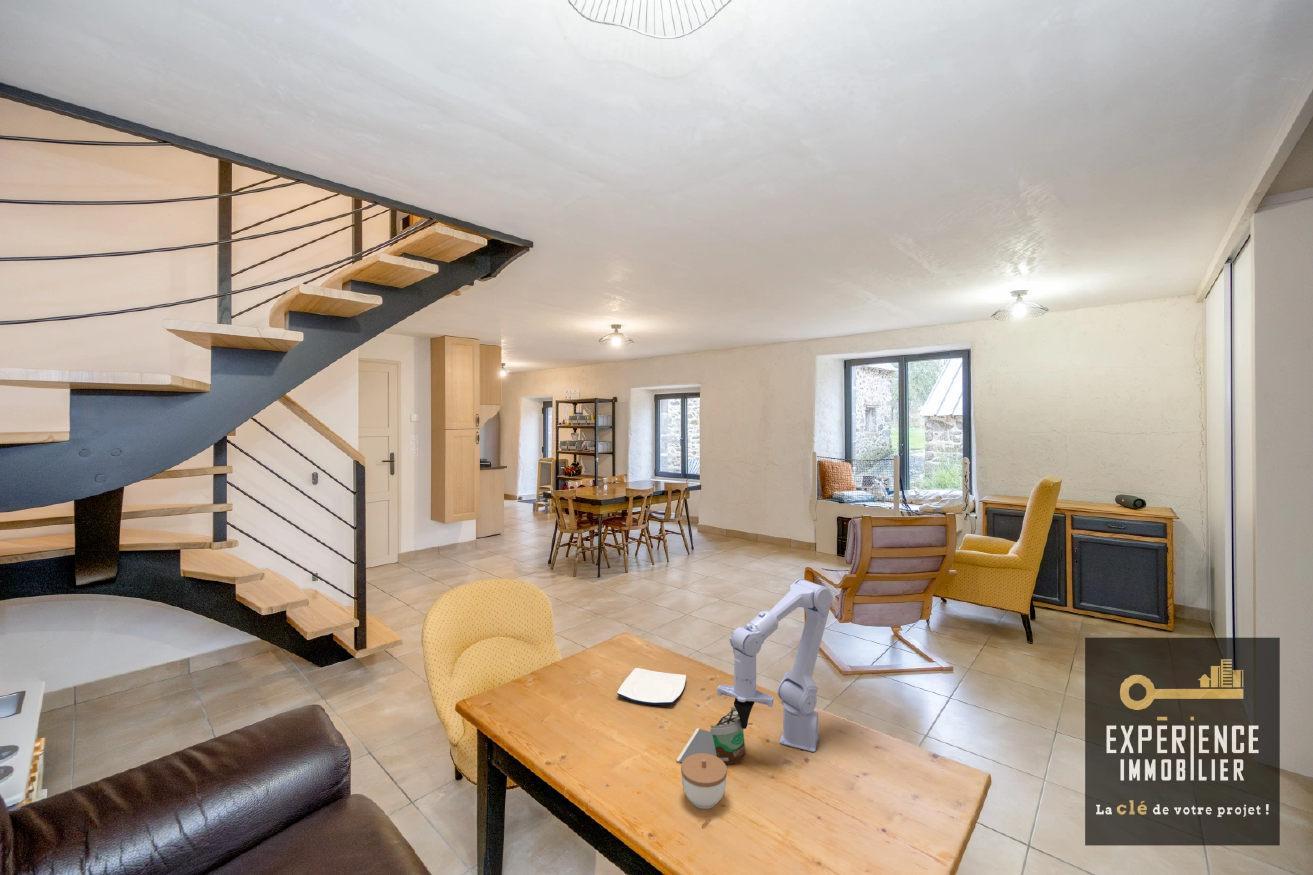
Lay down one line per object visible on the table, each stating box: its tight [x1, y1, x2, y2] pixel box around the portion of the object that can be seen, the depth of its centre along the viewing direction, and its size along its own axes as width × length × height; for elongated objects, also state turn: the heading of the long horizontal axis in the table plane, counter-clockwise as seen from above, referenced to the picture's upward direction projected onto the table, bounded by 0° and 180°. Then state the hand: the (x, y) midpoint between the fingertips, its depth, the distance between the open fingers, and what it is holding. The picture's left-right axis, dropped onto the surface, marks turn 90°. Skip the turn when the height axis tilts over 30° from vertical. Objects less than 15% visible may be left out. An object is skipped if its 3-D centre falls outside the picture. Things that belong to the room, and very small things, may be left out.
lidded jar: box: [680, 753, 728, 810], centre depth 122 cm, size 11×11×9 cm
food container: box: [709, 706, 746, 765], centre depth 137 cm, size 12×6×10 cm, turn 144°
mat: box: [675, 727, 717, 764], centre depth 141 cm, size 10×16×1 cm, turn 156°
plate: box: [616, 667, 687, 706], centre depth 172 cm, size 20×20×3 cm
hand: (744, 726), depth 136 cm, fingers closed
